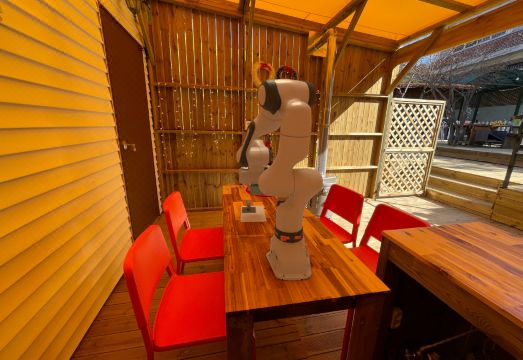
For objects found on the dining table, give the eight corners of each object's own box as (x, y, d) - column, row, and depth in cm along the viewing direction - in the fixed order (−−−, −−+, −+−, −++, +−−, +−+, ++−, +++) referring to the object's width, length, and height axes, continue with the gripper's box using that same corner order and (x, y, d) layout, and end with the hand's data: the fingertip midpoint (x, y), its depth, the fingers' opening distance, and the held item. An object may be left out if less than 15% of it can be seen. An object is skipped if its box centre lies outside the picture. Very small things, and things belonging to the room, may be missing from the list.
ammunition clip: (276, 208, 145) (277, 191, 142) (276, 207, 147) (276, 190, 144) (292, 207, 147) (292, 190, 143) (291, 206, 148) (291, 190, 145)
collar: (261, 194, 123) (261, 186, 122) (250, 194, 123) (250, 186, 121) (261, 191, 129) (261, 183, 128) (250, 191, 129) (250, 183, 128)
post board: (266, 223, 123) (266, 211, 121) (240, 224, 122) (240, 212, 120) (263, 207, 146) (263, 197, 144) (241, 208, 145) (241, 197, 143)
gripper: (237, 168, 118) (238, 192, 122) (274, 168, 119) (273, 191, 123) (238, 166, 124) (238, 188, 128) (272, 166, 126) (272, 188, 129)
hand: (256, 190), depth 126 cm, fingers closed on collar, 6 cm apart
